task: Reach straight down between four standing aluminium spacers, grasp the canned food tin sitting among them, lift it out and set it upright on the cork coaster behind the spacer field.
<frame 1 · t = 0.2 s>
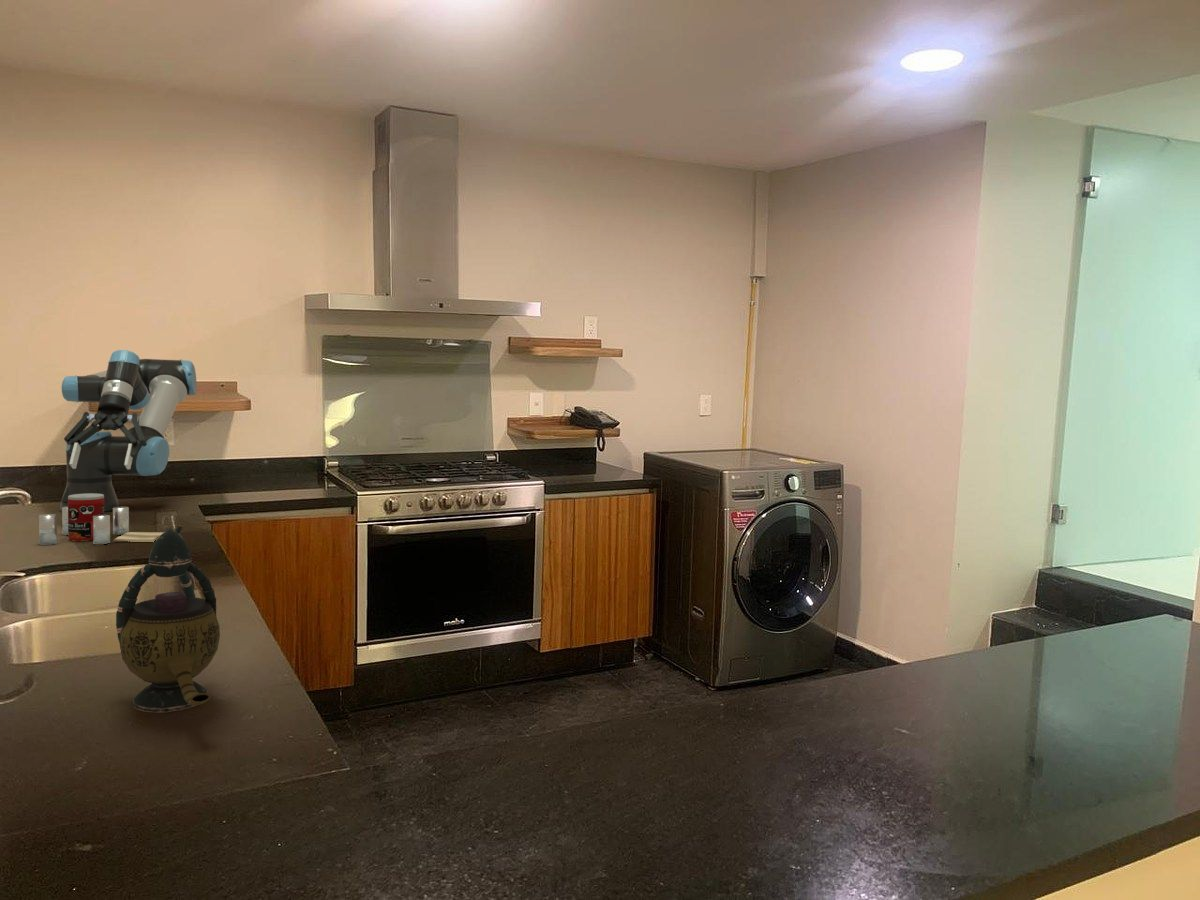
hand: (99, 466, 239), 16 cm above the countertop, tool tilted 35°, fingers open, 13 cm apart
spacer d: (101, 544, 218), on the countertop
canned food: (86, 539, 223), on the countertop
coaster: (140, 538, 226), on the countertop
spacer c: (48, 543, 216), on the countertop
spacer b: (121, 534, 230), on the countertop
spacer a: (70, 534, 228), on the countertop
teapot: (177, 709, 116), on the countertop
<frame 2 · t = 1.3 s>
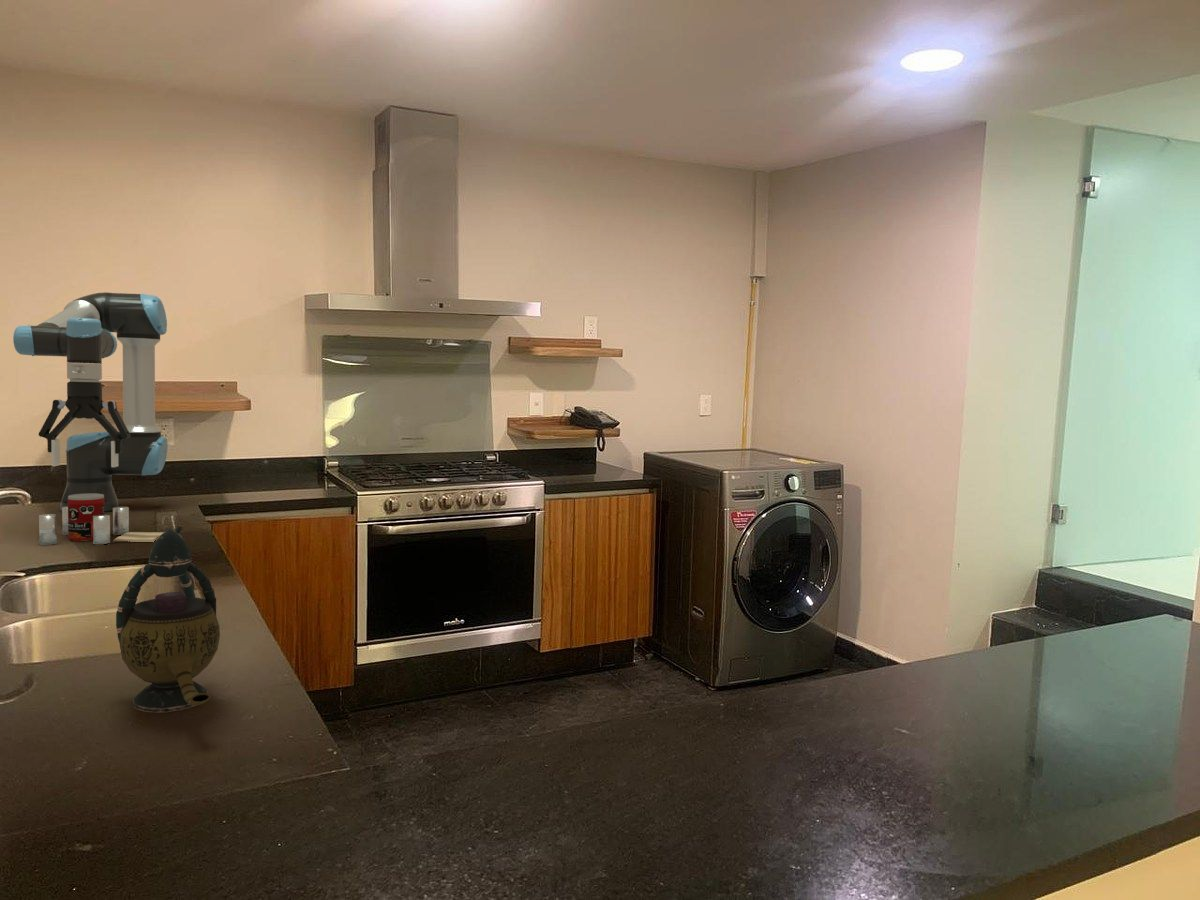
hand: (85, 466, 222), 18 cm above the countertop, tool pointing down, fingers open, 13 cm apart
nothing on the countertop moved.
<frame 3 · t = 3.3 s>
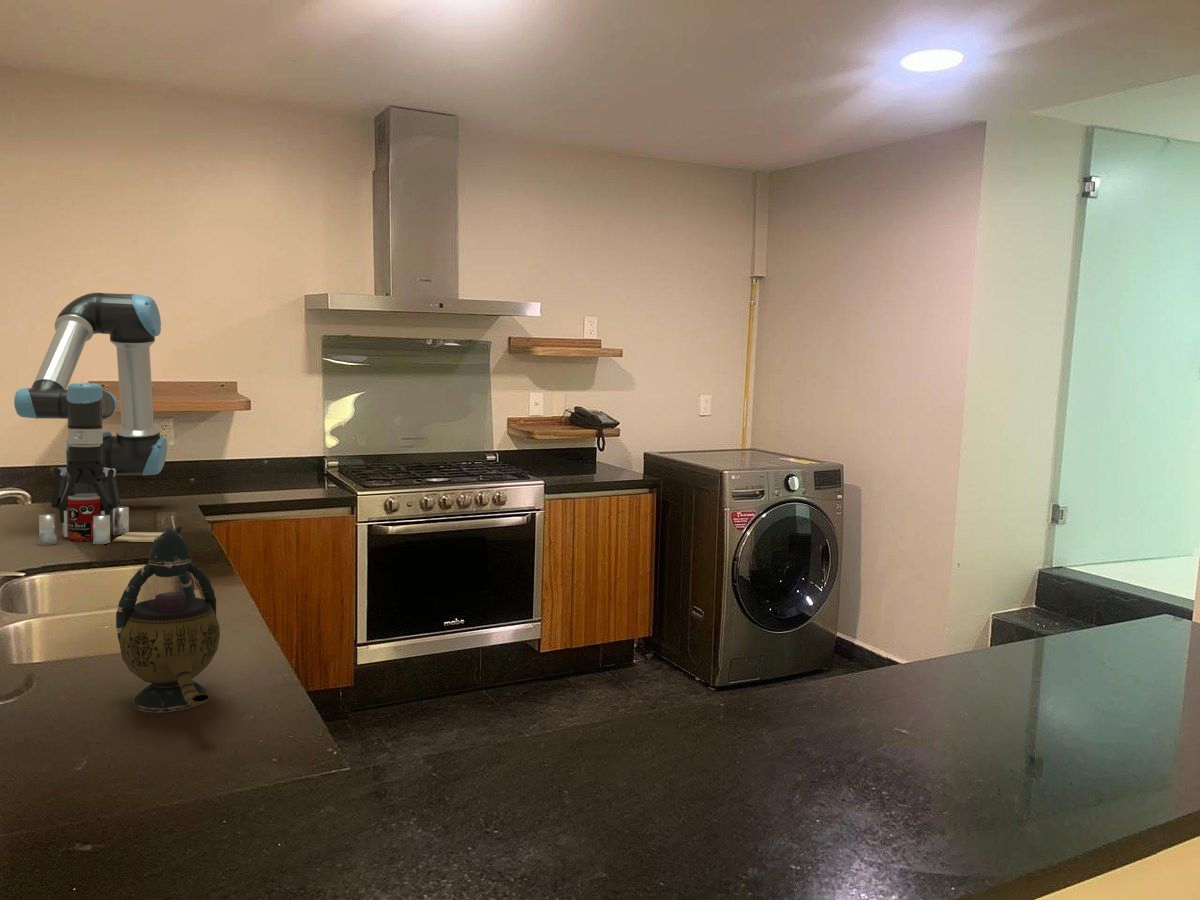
hand: (86, 535, 223), 1 cm above the countertop, tool pointing down, fingers closed on canned food, 8 cm apart
canned food: (86, 539, 223), on the countertop, touching gripper
everything else where it was.
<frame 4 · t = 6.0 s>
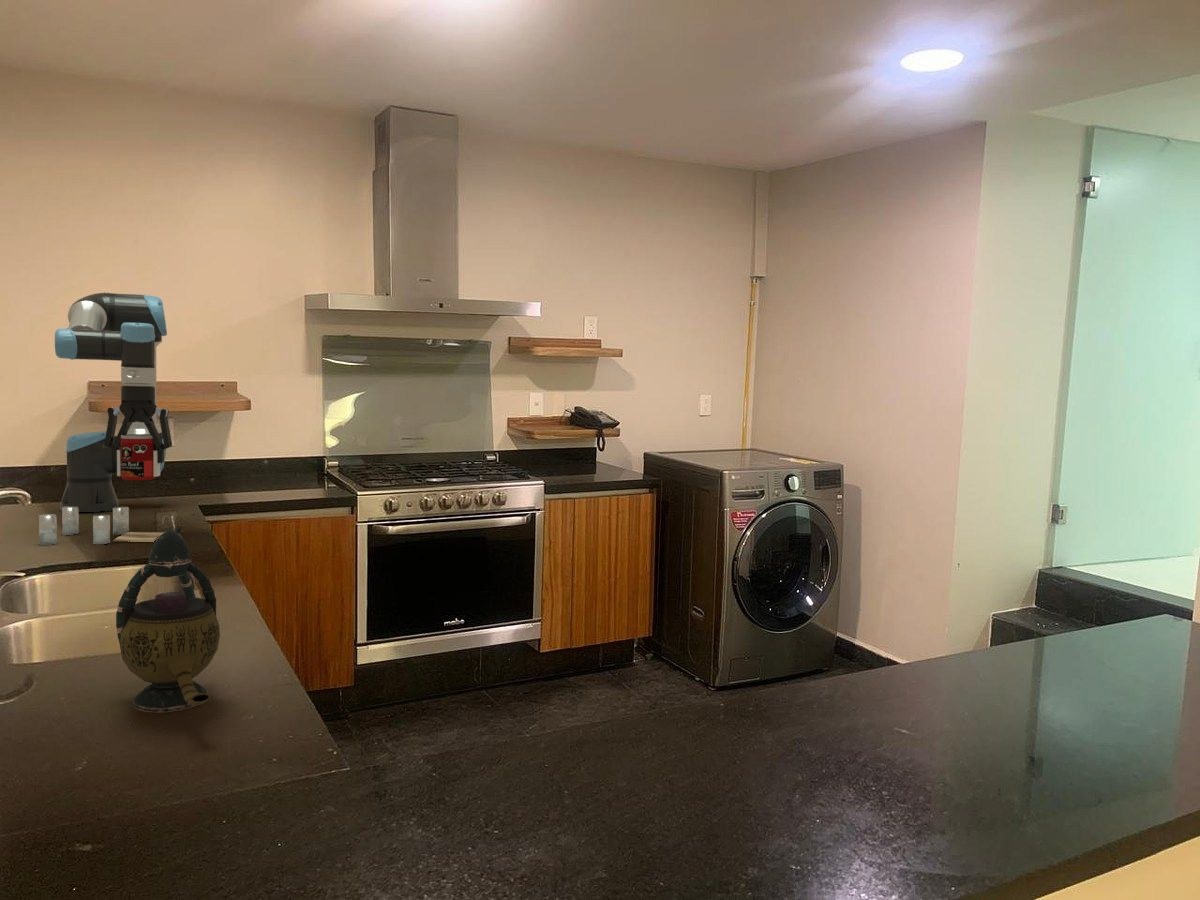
hand: (138, 475, 224), 16 cm above the countertop, tool pointing down, fingers closed on canned food, 8 cm apart
canned food: (138, 479, 224), point 15 cm above the countertop, touching gripper
everything else where it was.
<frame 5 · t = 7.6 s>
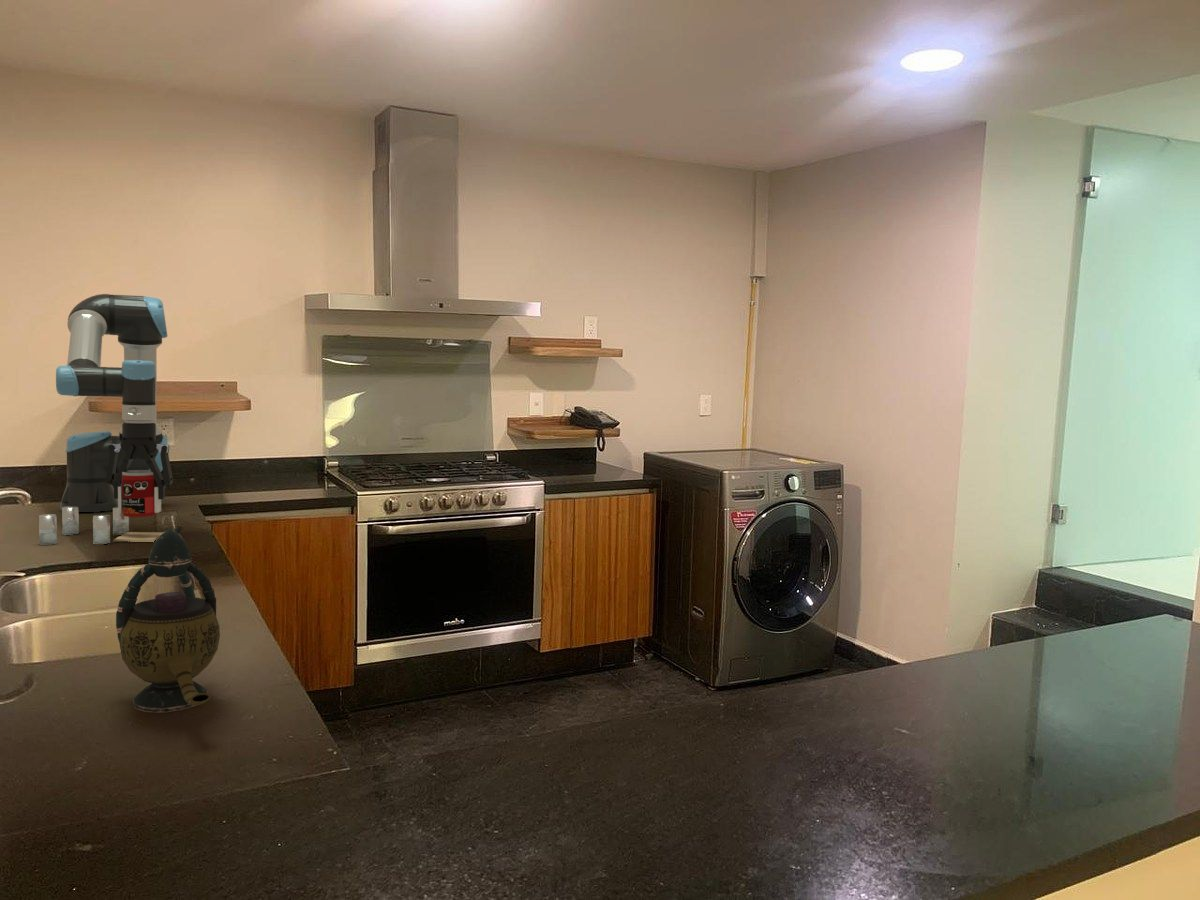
hand: (139, 511, 225), 7 cm above the countertop, tool pointing down, fingers closed on canned food, 8 cm apart
canned food: (139, 515, 225), point 6 cm above the countertop, touching gripper
everything else where it was.
when the fingers open (3 cm above the countertop, at t = 8.9 s): canned food drops 1 cm, resting on coaster.
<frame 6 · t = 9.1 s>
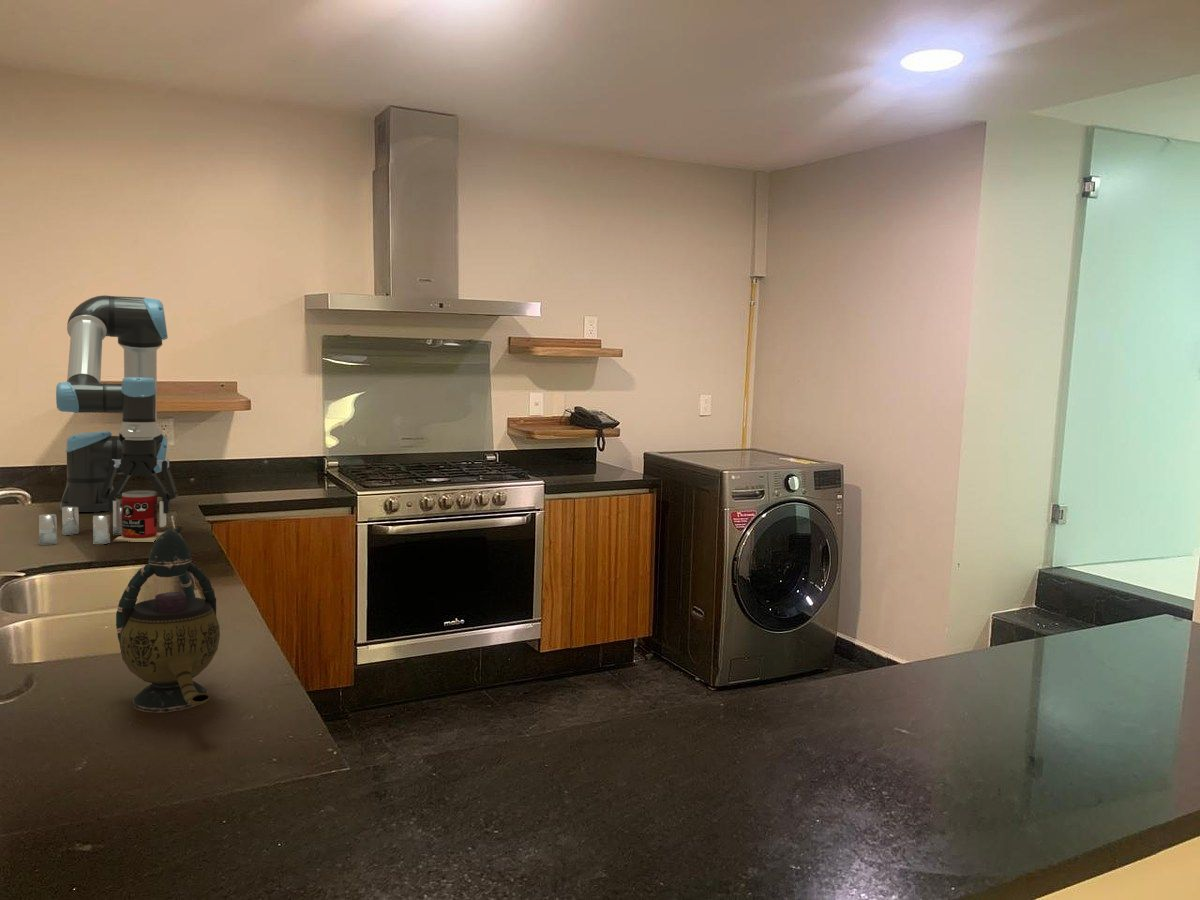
hand: (139, 526, 225), 3 cm above the countertop, tool pointing down, fingers open, 10 cm apart
canned food: (139, 536, 225), point 1 cm above the countertop, touching coaster
everything else where it was.
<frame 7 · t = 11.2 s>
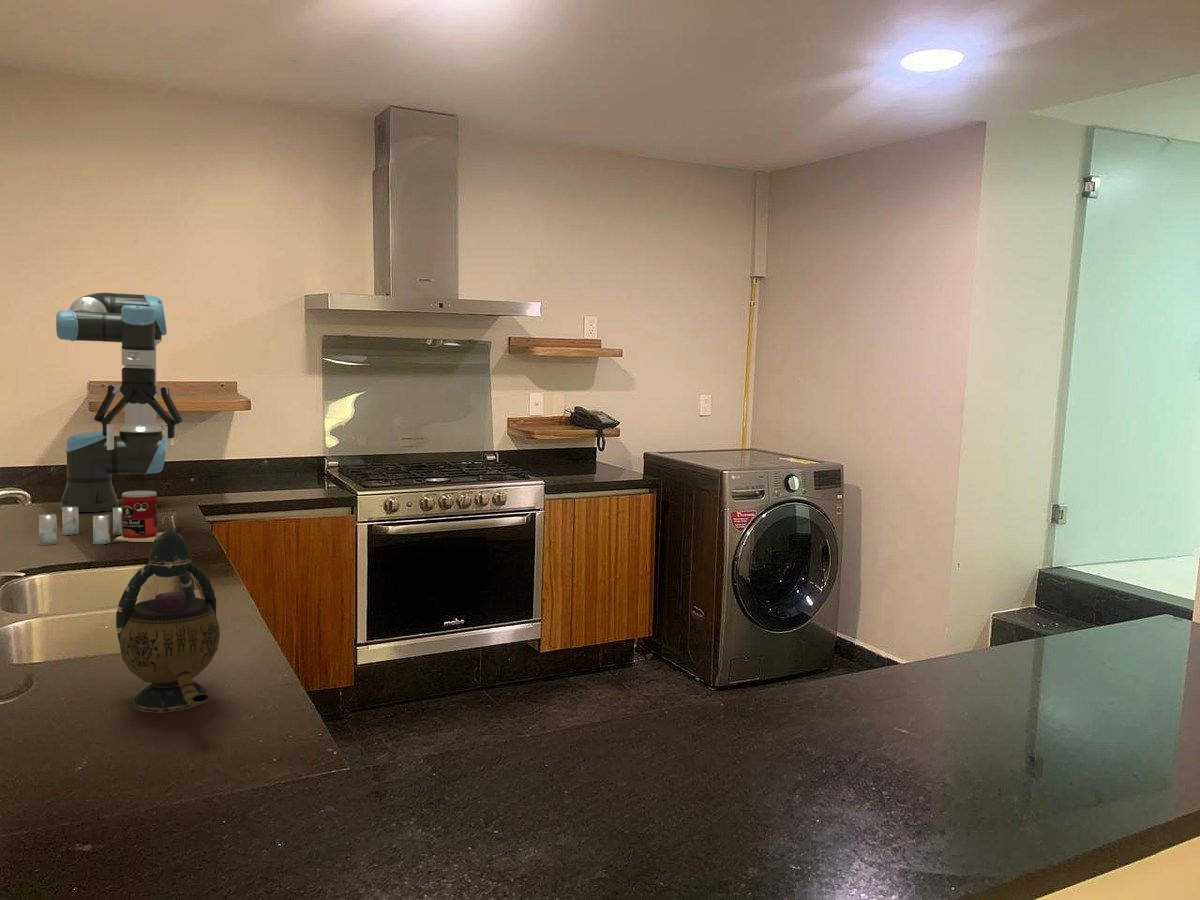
hand: (139, 450, 228), 22 cm above the countertop, tool pointing down, fingers open, 13 cm apart
nothing on the countertop moved.
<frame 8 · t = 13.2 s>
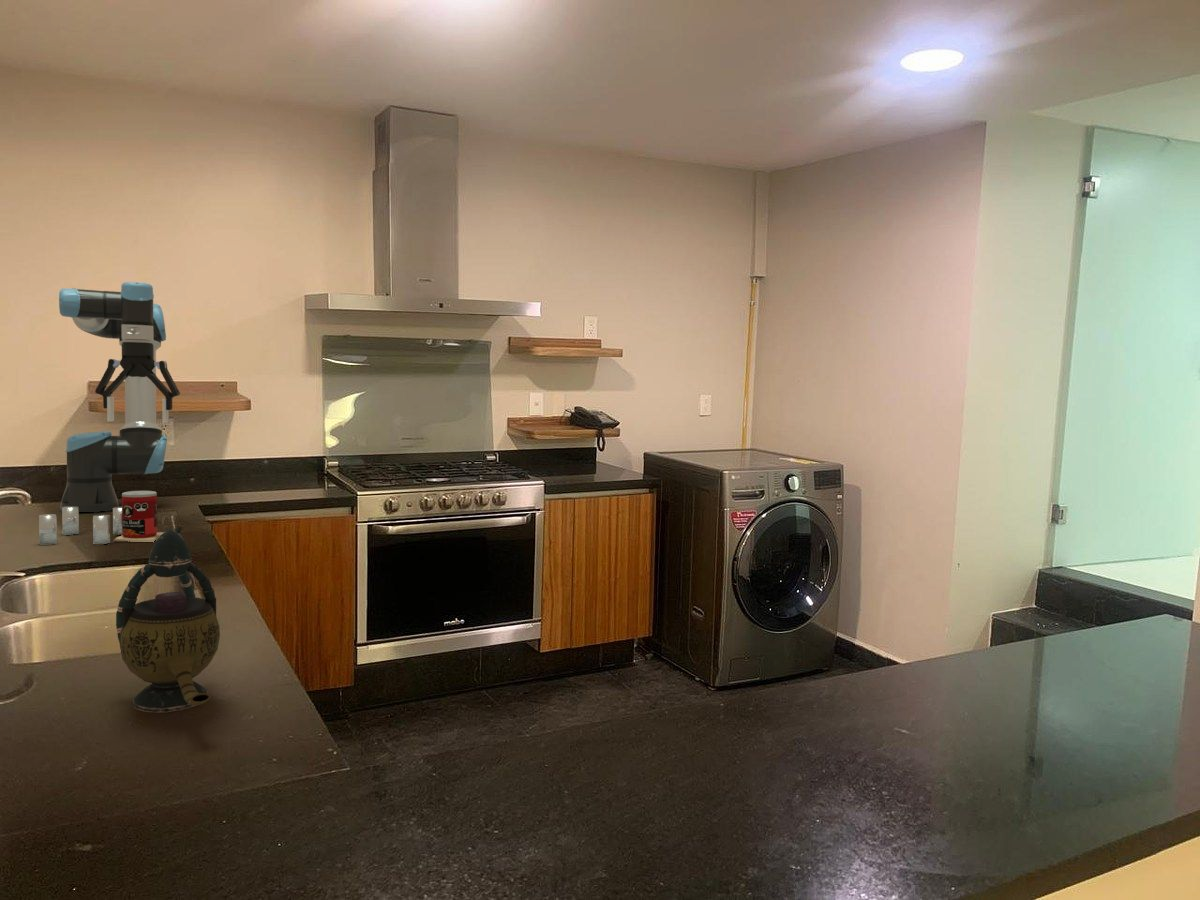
hand: (138, 422, 237), 29 cm above the countertop, tool pointing down, fingers open, 13 cm apart
nothing on the countertop moved.
at the end: canned food inside the target area on the coaster (0.0 cm from its centre), point 0.6 cm above the coaster's base; canned food tilted 0°; the gripper is holding nothing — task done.
